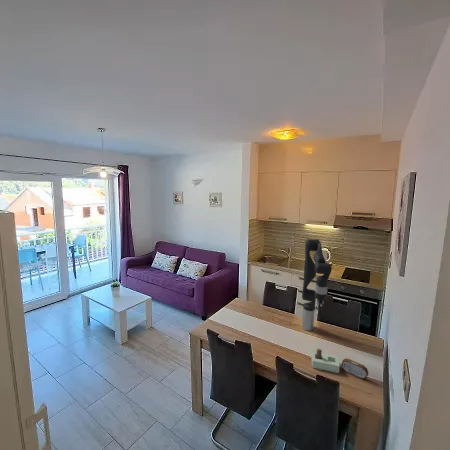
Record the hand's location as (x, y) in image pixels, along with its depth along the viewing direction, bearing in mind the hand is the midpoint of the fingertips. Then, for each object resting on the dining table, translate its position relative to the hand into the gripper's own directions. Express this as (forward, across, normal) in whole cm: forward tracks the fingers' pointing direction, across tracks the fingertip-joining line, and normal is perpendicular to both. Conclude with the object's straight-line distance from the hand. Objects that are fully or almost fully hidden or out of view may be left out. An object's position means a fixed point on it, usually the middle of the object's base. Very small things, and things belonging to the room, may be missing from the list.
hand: (319, 313), depth 173 cm
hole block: (+29, +14, +4) cm, 33 cm away
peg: (+29, +14, 0) cm, 32 cm away
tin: (+30, +17, +21) cm, 40 cm away
